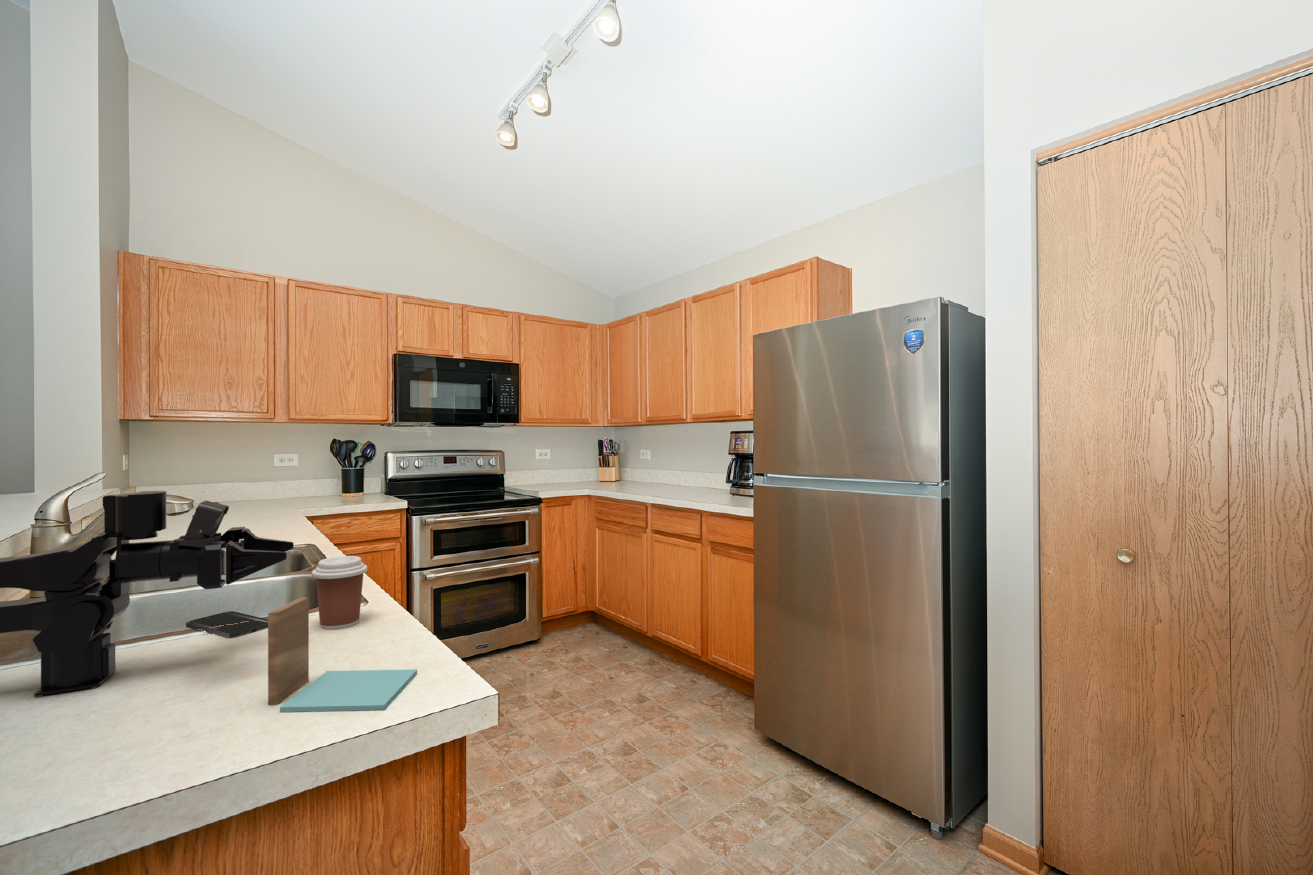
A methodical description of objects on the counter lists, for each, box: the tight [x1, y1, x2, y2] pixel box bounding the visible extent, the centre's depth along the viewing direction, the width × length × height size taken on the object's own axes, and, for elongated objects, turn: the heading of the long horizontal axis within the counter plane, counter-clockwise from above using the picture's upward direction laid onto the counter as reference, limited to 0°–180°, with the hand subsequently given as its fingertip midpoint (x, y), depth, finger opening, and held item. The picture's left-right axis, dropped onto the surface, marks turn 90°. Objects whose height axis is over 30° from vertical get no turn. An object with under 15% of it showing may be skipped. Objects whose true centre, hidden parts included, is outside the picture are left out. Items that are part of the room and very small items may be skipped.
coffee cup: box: [311, 555, 368, 631], centre depth 104 cm, size 9×9×12 cm
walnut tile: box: [267, 597, 310, 706], centre depth 76 cm, size 1×7×12 cm, turn 3°
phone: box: [185, 610, 268, 639], centre depth 103 cm, size 8×1×15 cm
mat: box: [279, 669, 418, 713], centre depth 77 cm, size 13×11×1 cm
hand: (290, 550), depth 91 cm, fingers open, 9 cm apart
